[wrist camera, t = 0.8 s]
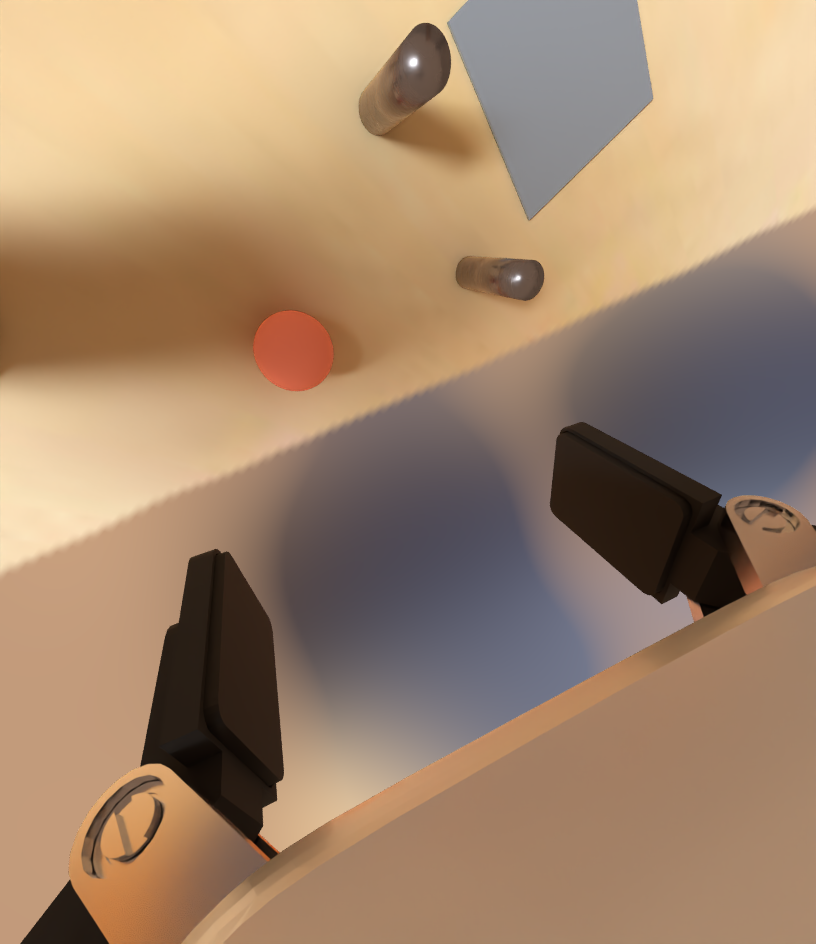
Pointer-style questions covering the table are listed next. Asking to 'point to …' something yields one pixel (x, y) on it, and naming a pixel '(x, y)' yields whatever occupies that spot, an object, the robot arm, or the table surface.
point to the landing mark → (553, 82)
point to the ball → (293, 350)
